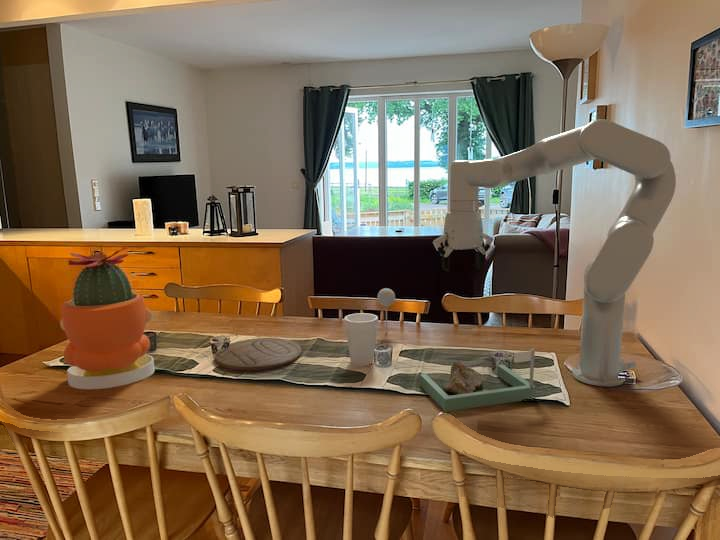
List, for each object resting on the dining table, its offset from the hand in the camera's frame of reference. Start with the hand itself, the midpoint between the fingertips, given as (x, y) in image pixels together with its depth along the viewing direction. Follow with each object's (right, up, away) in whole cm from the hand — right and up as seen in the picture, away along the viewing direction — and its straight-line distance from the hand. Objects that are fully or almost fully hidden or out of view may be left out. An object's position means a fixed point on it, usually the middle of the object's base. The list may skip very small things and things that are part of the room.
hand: (462, 269), depth 150 cm
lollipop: (-19, -21, +32) cm, 43 cm away
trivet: (-58, -26, +12) cm, 65 cm away
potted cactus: (-94, -30, -3) cm, 99 cm away
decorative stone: (-3, -30, -13) cm, 33 cm away
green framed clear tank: (0, -30, -15) cm, 34 cm away
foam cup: (-28, -26, +6) cm, 39 cm away
